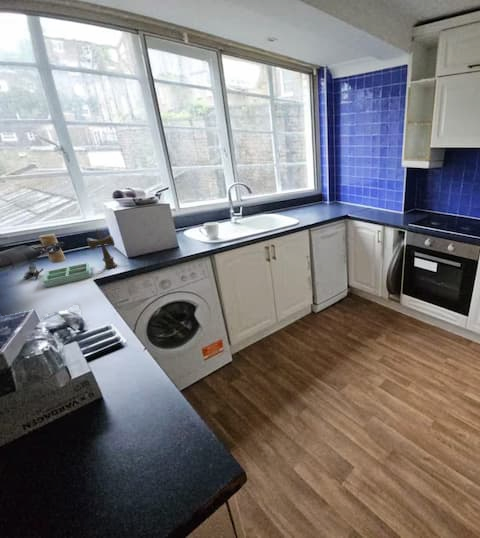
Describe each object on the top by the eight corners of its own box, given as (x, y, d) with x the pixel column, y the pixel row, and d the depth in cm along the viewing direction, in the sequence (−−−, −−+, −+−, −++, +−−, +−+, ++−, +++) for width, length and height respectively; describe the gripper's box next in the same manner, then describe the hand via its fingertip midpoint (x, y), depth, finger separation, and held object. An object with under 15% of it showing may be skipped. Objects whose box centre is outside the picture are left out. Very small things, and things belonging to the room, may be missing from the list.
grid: (46, 287, 131) (42, 281, 130) (49, 277, 142) (46, 271, 141) (90, 277, 140) (88, 271, 139) (90, 268, 151) (88, 262, 150)
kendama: (100, 267, 151) (83, 230, 143) (123, 263, 156) (108, 226, 148) (99, 271, 146) (82, 232, 138) (123, 266, 151) (108, 229, 143)
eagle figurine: (51, 272, 144) (41, 267, 147) (36, 264, 138) (25, 259, 141) (37, 285, 140) (27, 279, 143) (21, 278, 134) (10, 272, 137)
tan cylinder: (51, 264, 128) (38, 237, 123) (52, 261, 131) (39, 235, 126) (65, 261, 130) (53, 235, 126) (66, 258, 134) (54, 233, 129)
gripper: (3, 267, 116) (45, 252, 132) (38, 266, 116) (77, 251, 132) (-7, 249, 113) (38, 236, 129) (29, 248, 113) (69, 235, 129)
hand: (57, 244), depth 130 cm, fingers closed on tan cylinder, 4 cm apart
